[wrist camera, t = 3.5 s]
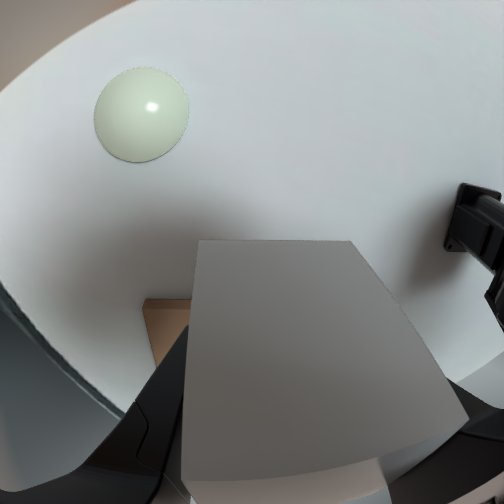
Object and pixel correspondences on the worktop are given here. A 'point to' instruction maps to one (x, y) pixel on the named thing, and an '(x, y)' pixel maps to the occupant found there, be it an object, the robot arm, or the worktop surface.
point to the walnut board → (165, 323)
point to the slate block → (303, 378)
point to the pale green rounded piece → (141, 114)
